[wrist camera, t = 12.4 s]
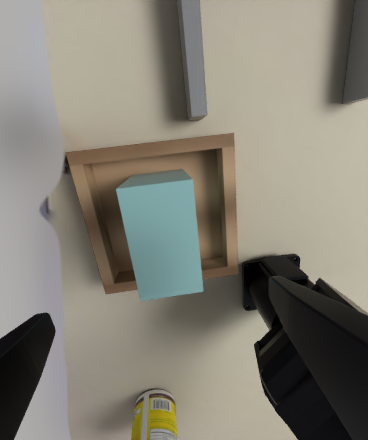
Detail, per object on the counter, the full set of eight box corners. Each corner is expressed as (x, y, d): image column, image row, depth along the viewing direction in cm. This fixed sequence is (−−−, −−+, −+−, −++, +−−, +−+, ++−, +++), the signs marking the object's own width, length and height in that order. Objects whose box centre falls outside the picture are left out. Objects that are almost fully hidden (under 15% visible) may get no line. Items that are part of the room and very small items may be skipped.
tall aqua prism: (191, 255, 22) (204, 301, 15) (148, 261, 22) (142, 311, 15) (182, 168, 19) (192, 179, 12) (132, 174, 19) (115, 188, 12)
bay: (354, 102, 19) (381, 95, 17) (188, 120, 18) (191, 116, 16) (379, -72, 15) (418, -113, 13) (170, -59, 15) (172, -100, 12)
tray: (230, 260, 23) (238, 273, 21) (111, 278, 22) (105, 294, 20) (224, 135, 19) (233, 132, 16) (78, 152, 18) (65, 152, 16)
